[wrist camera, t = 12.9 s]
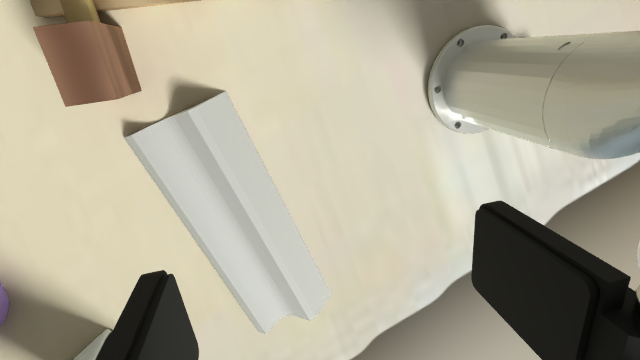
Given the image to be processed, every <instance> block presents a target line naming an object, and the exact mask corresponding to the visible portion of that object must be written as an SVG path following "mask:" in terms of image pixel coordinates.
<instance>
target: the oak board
mask: <svg viewBox="0 0 640 360" xmlns="http://www.w3.org/2000/svg"><path fill="white" fill-rule="evenodd" d="M189 1H199V0H93V2H94V5H95V8H96V11H97V12H98V11H108V10H117V9H126V8H135V7H144V6H153V5H162V4H171V3H180V2H189ZM30 2H31V5H32V7H33V10H34V12H35V15H36V16H41V17H53V16H62V15H65V14H64V11H63V8H62V6H61V3H60V0H30Z"/></svg>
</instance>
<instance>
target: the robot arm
mask: <svg viewBox="0 0 640 360" xmlns="http://www.w3.org/2000/svg"><path fill="white" fill-rule="evenodd" d="M457 42H458V44H457ZM435 88H436V89H435ZM434 89H435V90H434ZM428 97H429V103H430V106H431V109H432V111H433V113H434V115H435V116H436V118H437V119H438V120H439V121H440V122H441V123H442V124H443V125H444V126H446V127H447V128H449V129H451V130H453V131H456V132H460V133H464V134H474V133H480V132H483V131H486V130H488V129H492V130H495V131H499V132H502V133H505V134H508V135H511V136H515V137H518V138H521V139H524V140H527V141H531V142H534V143H537V144H540V145H543V146H547V147H550V148H553V149H556V150H559V151H563V152H566V153H570V154H573V155H576V156H580V157H584V158H590V159H614V158H620V157H624V156H629V155H633V154H636V153H639V152H640V31H628V32H611V33H598V34H580V35H563V36H545V37H528V38H516V37H515V36H514V35H512V34H511V33H510V32H509V31H507V30H505V29H503V28H501V27H498V26H493V25H482V26H476V27H472V28H469V29H466V30H464V31H462V32H460V33H459V34H457V35H456V36H454V37H453V38H452V39H451V40H450V41H449V42H447V44H446V45H445V46H444V47H443V48H442V50H441V51H440V52H439V54H438V56H437V58H436V59H435V61H434V64H433V66H432V69H431V71H430V76H429V81H428ZM637 261H638V268H639V271H640V240H639V246H638V252H637ZM629 281H630V276H628V275H626V274H625V273H623V272H621V271H620V270H618V269H616V268H614V267H612V266H611V265H609V264H608V263H606V262H604V261H603V260H601V259H599V258H598V257H596V256H594V255H592V254H591V253H589V252H587V251H586V250H584V249H582V248H581V247H579V246H577V245H576V244H574V243H572V242H571V241H569V240H567V239H565V238H564V237H562V236H560V235H558V234H557V233H555V232H553V231H552V230H550V229H548V228H547V227H545V226H544V225H542V224H540V223H539V222H537V221H535V220H533V219H532V218H530V217H528V216H527V215H525V214H523V213H522V212H520V211H518V210H517V209H515V208H513V207H511V206H510V205H508V204H506V203H505V202H503V201H495V202H491V203H486V204H482V205H481V206H480V208H479V210H477V212H476V215H475V231H474V246H473V262H472V283H473V286H474V288H475V289H476V290H477V291H478V292H479V293H480V295H481V296H482V297H483V298H484V299H485V300H486V301H487V302H488V303H489V304H490V305H491V306H492V307H493V308H494V309H495V310H496V311H497V312H498V314H499V315H500V316H501V317H502V318H503V319H504V320H505V321H506V322H507V323H508V324H509V325H510V326H511V327H512V328H513V329H514V331H515V332H516V333H517V334H518V335H519V336H520V337H521V338H522V339H523V340H524V341H525V342H526V343H527V344H528V345H529V346H530V347H531V348H532V350H533V351H534V352H535V353H536V354H537V355H538V356H539V357H540V358H541V359H542V360H640V285H639V287H638V288H637V289H636V292H635V291H634V290H632V289H631V288H629V287H628V285H629ZM198 357H199V348H198V343H197V340H196V337H195V334H194V331H193V329H192V326H191V323H190V320H189V317H188V314H187V311H186V309H185V306H184V303H183V300H182V297H181V294H180V291H179V289H178V286H177V283H176V280H175V277H174V275H173V274H168V275H167V273H166V272H165V271H164V270H162V271H157V272H152V273H147V274H143V275H141V276H140V278H139V280H138V282H137V284H136V286H135V288H134V290H133V292H132V294H131V296H130V298H129V300H128V302H127V304H126V306H125V308H124V310H123V312H122V314H121V316H120V318H119V320H118V322H117V324H116V326H115V328H114V330H113V331H112V332H110V333H109V335H108V336H107V338H106V339H105V341H104V343H103V345H102V347H101V349H100V351H99V353H98V355H97V357H96V359H95V360H198Z"/></svg>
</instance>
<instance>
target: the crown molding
mask: <svg viewBox="0 0 640 360" xmlns="http://www.w3.org/2000/svg"><path fill="white" fill-rule="evenodd" d="M124 138H125V140H126V141H127V143H128V144H129V146H130V147H131V149H132V150H133V151H134V153H135V154H136V156H137V157H138V159H139V160H140V162H141V163H142V165H143V166H144V167H145V169H146V170H147V172H148V173H149V175H150V176H151V178H152V179H153V180H154V182H155V183H156V185H157V186H158V188H159V189H160V191H161V192H162V193H163V195H164V196H165V198H166V199H167V201H168V202H169V204H170V205H171V206H172V208H173V209H174V211H175V212H176V214H177V215H178V217H179V218H180V219H181V221H182V222H183V224H184V225H185V227H186V228H187V230H188V231H189V233H190V234H191V235H192V237H193V238H194V240H195V241H196V243H197V244H198V246H199V247H200V248H201V250H202V251H203V253H204V254H205V256H206V257H207V259H208V260H209V261H210V263H211V264H212V266H213V267H214V269H215V270H216V272H217V273H218V274H219V276H220V277H221V279H222V280H223V282H224V283H225V285H226V286H227V287H228V289H229V290H230V292H231V293H232V295H233V296H234V298H235V299H236V300H237V302H238V303H239V305H240V306H241V308H242V309H243V311H244V312H245V314H246V315H247V316H248V318H249V319H250V321H251V322H252V324H253V325H254V327H255V328H256V329H257V331H259V332H262V333H264V334H267V333H268V332H269V330H270V329H271V328H272V327H273V326H274V325H275V324H276V323H277V322H278V321H279V320H280V319H282V318H284V317H286V316H297V317H300V318H303V319H306V320H312V319H314V318H316V317H317V315H318V314H319V312H320V310H321V309H322V307H323V306H324V304H325V303H326V301H327V300H328V298H329V297H330V295H331V291H330V290H329V288H328V286H327V284H326V282H325V280H324V278H323V276H322V274H321V272H320V270H319V268H318V266H317V265H316V263H315V261H314V259H313V257H312V255H311V253H310V251H309V249H308V247H307V245H306V243H305V242H304V240H303V238H302V236H301V234H300V232H299V230H298V228H297V226H296V224H295V222H294V220H293V218H292V217H291V215H290V213H289V211H288V209H287V207H286V205H285V203H284V201H283V199H282V197H281V195H280V194H279V192H278V190H277V188H276V186H275V184H274V182H273V180H272V178H271V176H270V174H269V172H268V170H267V169H266V167H265V165H264V163H263V161H262V159H261V157H260V155H259V153H258V151H257V149H256V147H255V146H254V144H253V142H252V140H251V138H250V136H249V134H248V132H247V130H246V128H245V126H244V124H243V122H242V121H241V119H240V117H239V115H238V113H237V111H236V109H235V107H234V105H233V103H232V101H231V99H230V98H229V96H228V94H227V92H226V91H225V92H223V93H221V94H218V95H216V96H214V97H212V98H210V99H208V100H206V101H204V102H202V103H200V104H197V105H195V106H193V107H191V108H189V109H187V110H184V111H181V112H179V113H177V114H175V115H172V116H170V117H168V118H166V119H164V120H161V121H159V122H157V123H155V124H153V125H150V126H148V127H146V128H144V129H142V130H140V131H138V132H135V133H133V134H131V135H129V136H126V137H124Z"/></svg>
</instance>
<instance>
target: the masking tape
mask: <svg viewBox="0 0 640 360" xmlns="http://www.w3.org/2000/svg"><path fill="white" fill-rule="evenodd" d="M8 310H9V299H8V295H7V293H6V291H5V289H4V287H3V286H2V284H1V283H0V325H1V324H2V323H3V321H4V320H5V319H6V317H7V314H8Z"/></svg>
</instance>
